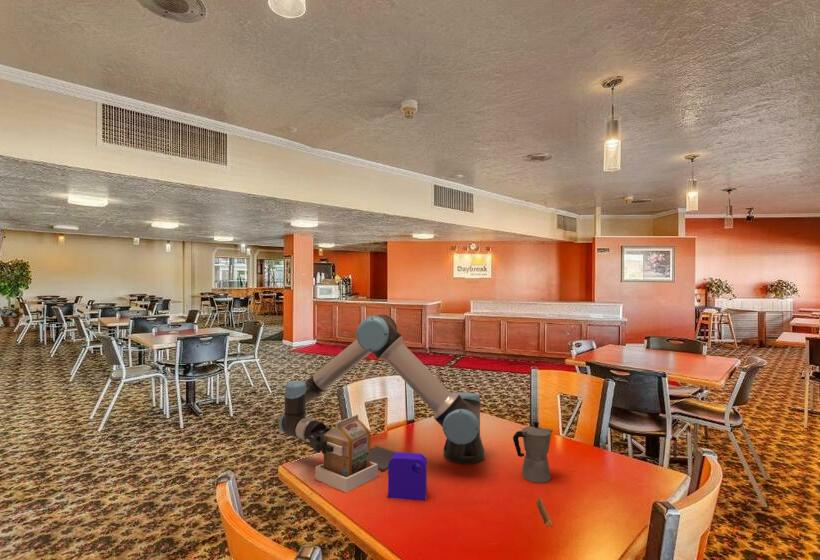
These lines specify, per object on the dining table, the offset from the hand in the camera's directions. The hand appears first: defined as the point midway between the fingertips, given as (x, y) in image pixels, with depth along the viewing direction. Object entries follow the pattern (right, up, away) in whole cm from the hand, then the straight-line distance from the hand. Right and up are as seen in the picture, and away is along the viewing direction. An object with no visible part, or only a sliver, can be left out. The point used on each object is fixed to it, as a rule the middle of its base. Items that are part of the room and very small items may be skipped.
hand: (355, 445), depth 134 cm
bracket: (+18, -12, -2) cm, 21 cm away
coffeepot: (+58, -12, +4) cm, 59 cm away
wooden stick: (+54, -12, -19) cm, 59 cm away
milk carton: (-3, -11, +2) cm, 12 cm away
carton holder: (-3, -11, +2) cm, 12 cm away
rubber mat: (+6, -12, +18) cm, 22 cm away
